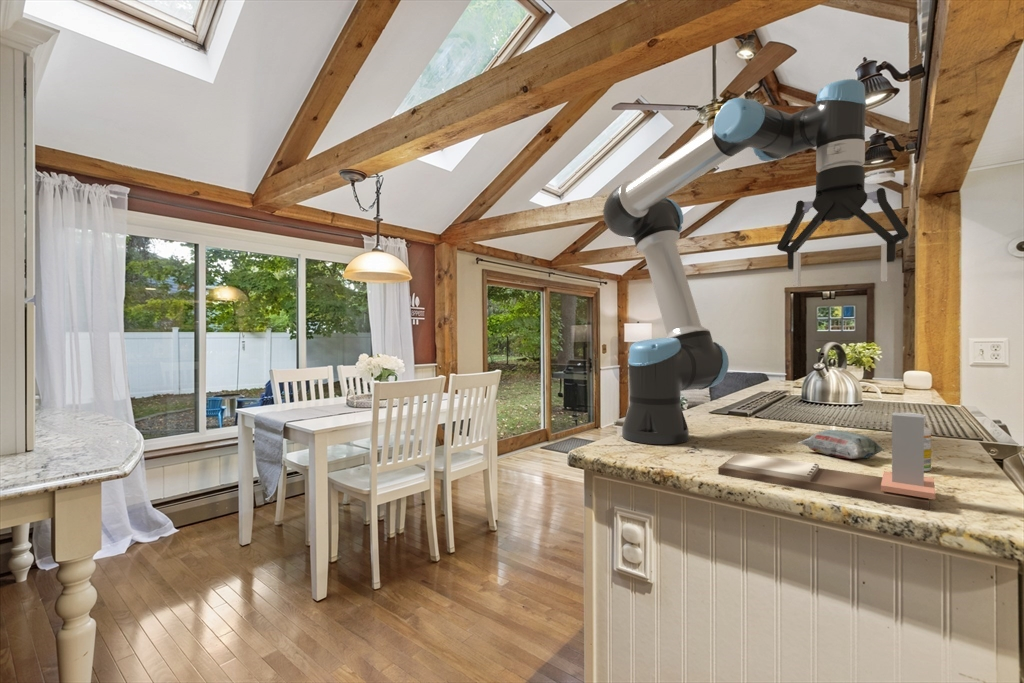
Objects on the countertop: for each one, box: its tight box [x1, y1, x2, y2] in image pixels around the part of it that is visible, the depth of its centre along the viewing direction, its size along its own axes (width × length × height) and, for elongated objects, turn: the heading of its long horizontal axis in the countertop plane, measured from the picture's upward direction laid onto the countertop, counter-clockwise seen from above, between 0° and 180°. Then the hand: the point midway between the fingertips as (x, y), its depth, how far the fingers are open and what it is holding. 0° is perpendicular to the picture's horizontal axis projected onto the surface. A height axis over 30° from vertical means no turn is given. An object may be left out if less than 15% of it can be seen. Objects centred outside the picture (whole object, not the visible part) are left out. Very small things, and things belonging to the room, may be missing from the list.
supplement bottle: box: [907, 412, 932, 473], centre depth 86 cm, size 5×5×10 cm
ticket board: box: [717, 452, 930, 511], centre depth 79 cm, size 28×10×2 cm, turn 50°
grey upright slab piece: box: [881, 412, 936, 500], centre depth 72 cm, size 6×9×11 cm, turn 140°
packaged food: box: [797, 429, 886, 460], centre depth 96 cm, size 9×12×5 cm
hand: (838, 284), depth 90 cm, fingers open, 13 cm apart
